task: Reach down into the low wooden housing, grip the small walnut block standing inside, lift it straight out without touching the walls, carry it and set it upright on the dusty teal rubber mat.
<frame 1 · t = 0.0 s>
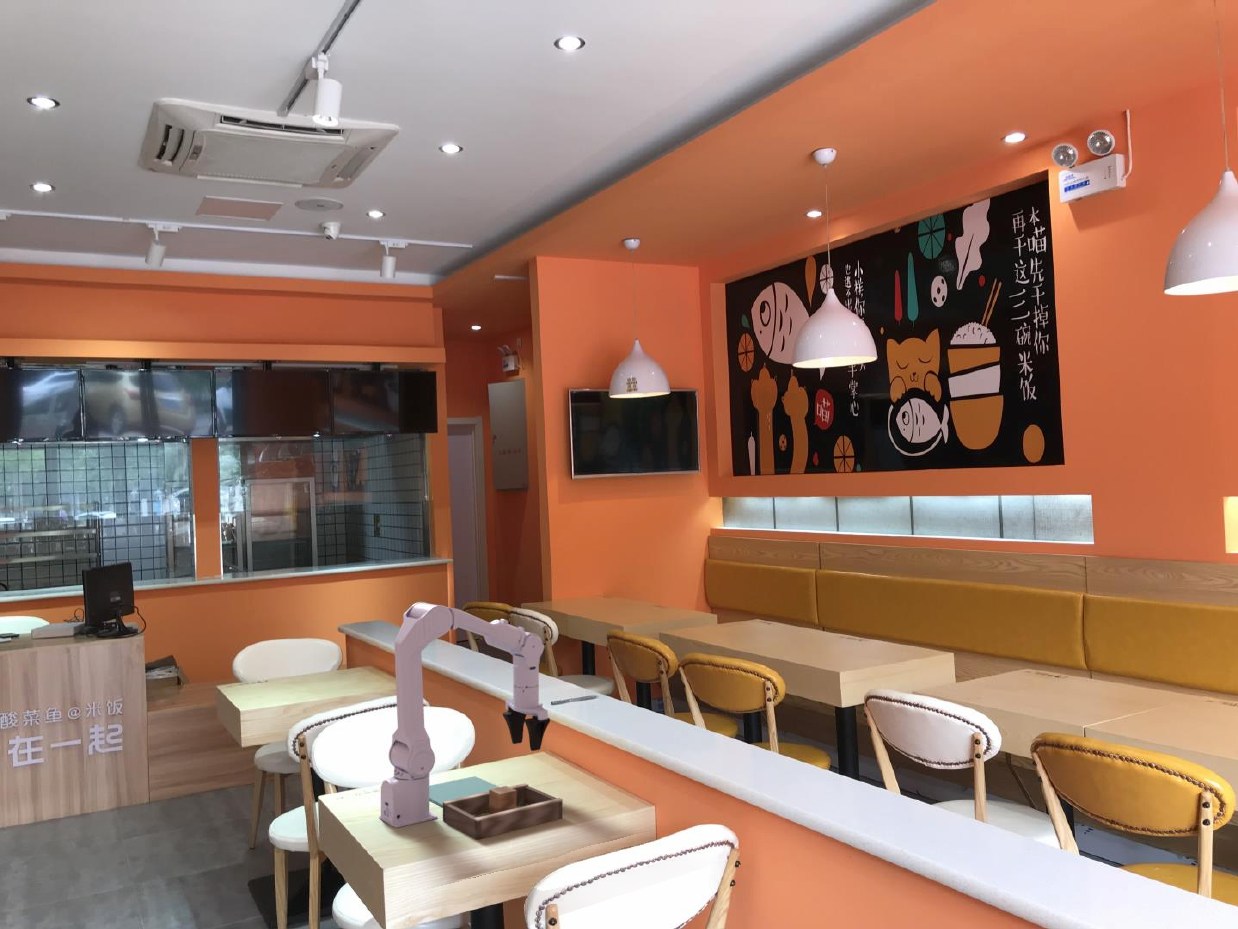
hand: (526, 746, 217), 10 cm above the table, tool pointing down, fingers open, 7 cm apart
mat: (461, 793, 216), on the table
housing: (502, 819, 198), on the table
walnut block: (502, 804, 198), in the housing
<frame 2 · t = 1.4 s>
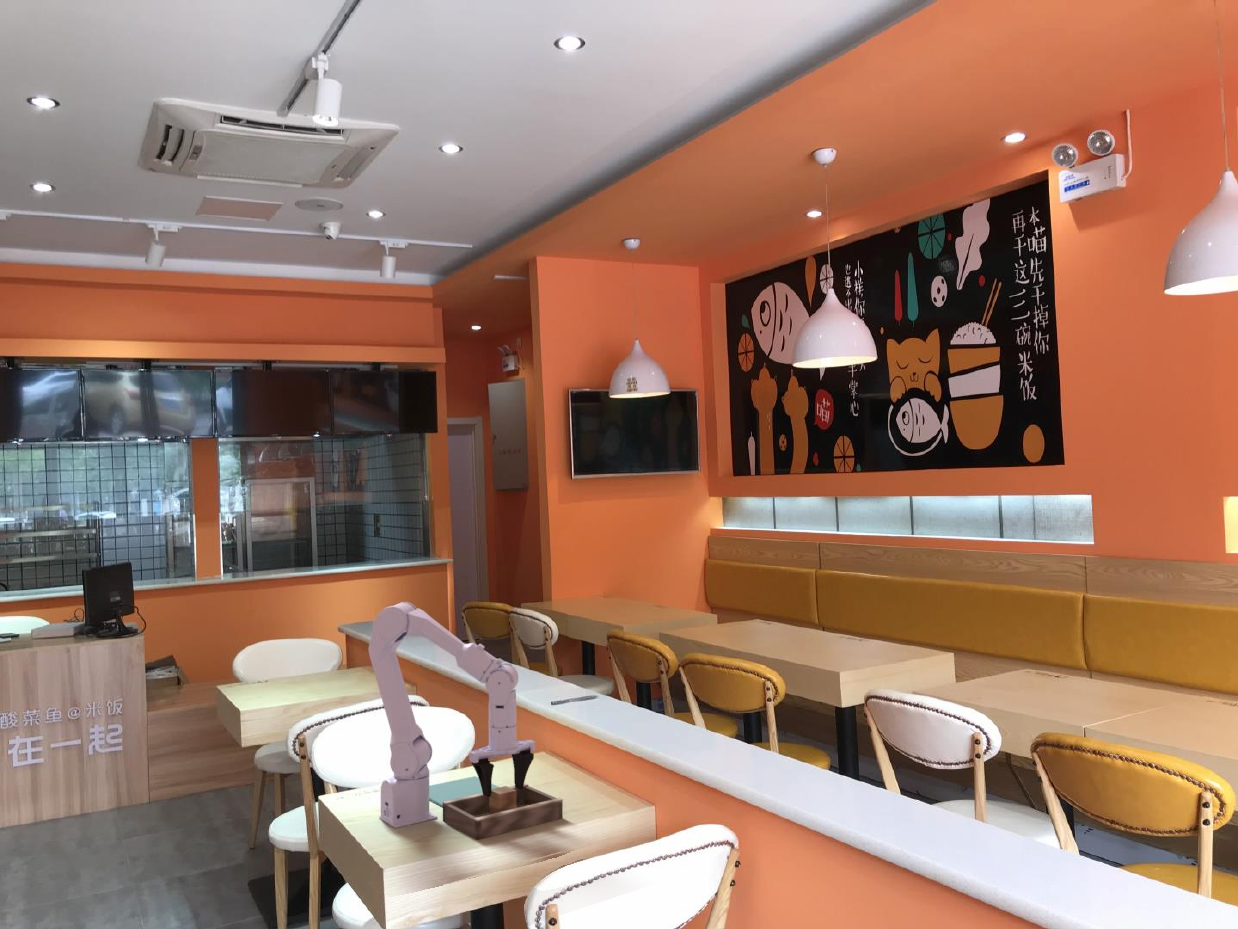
hand: (503, 791, 198), 6 cm above the table, tool pointing down, fingers open, 7 cm apart
nothing on the table moved.
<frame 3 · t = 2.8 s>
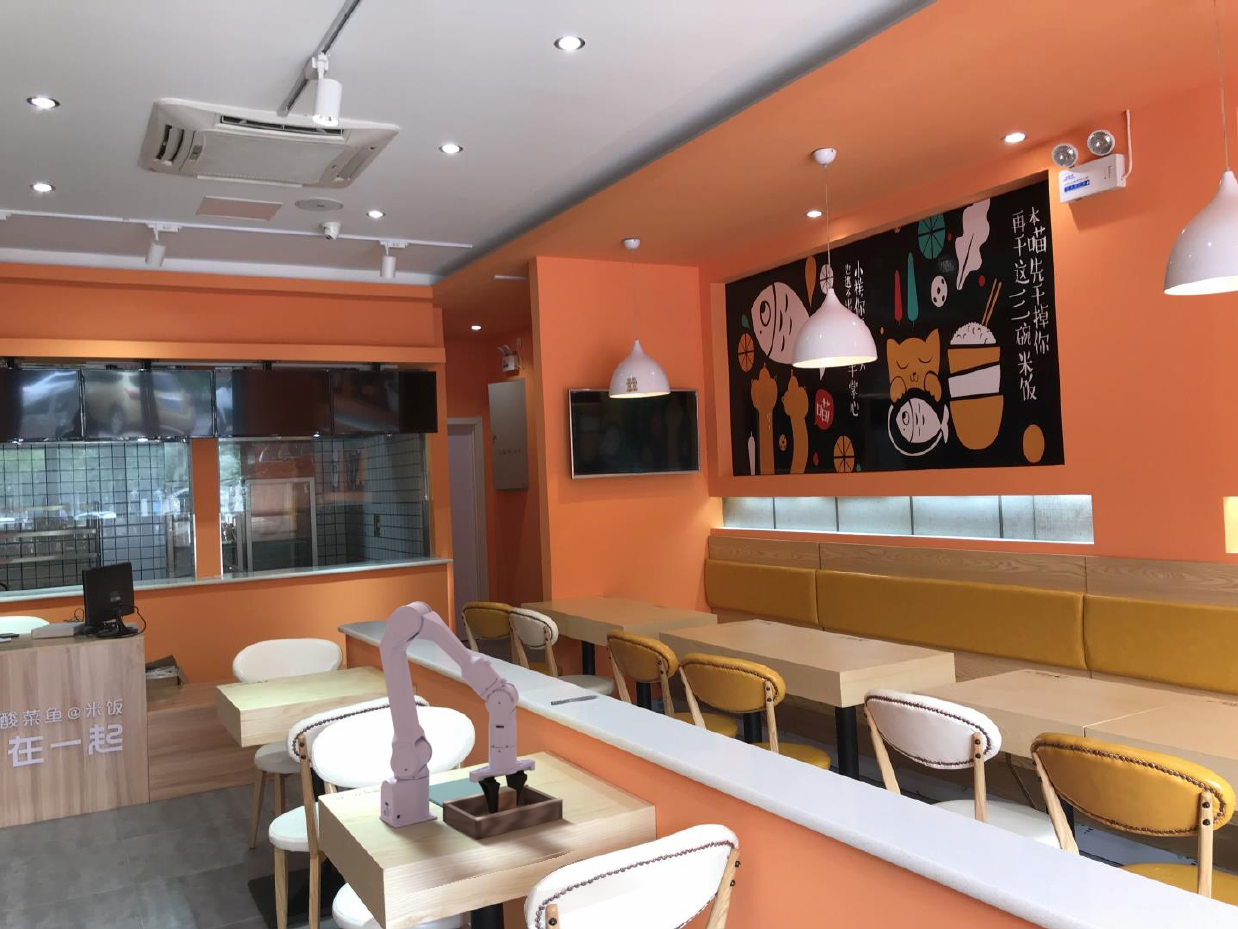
hand: (502, 811, 198), 2 cm above the table, tool pointing down, fingers closed on walnut block, 4 cm apart
walnut block: (502, 804, 198), in the housing, touching gripper
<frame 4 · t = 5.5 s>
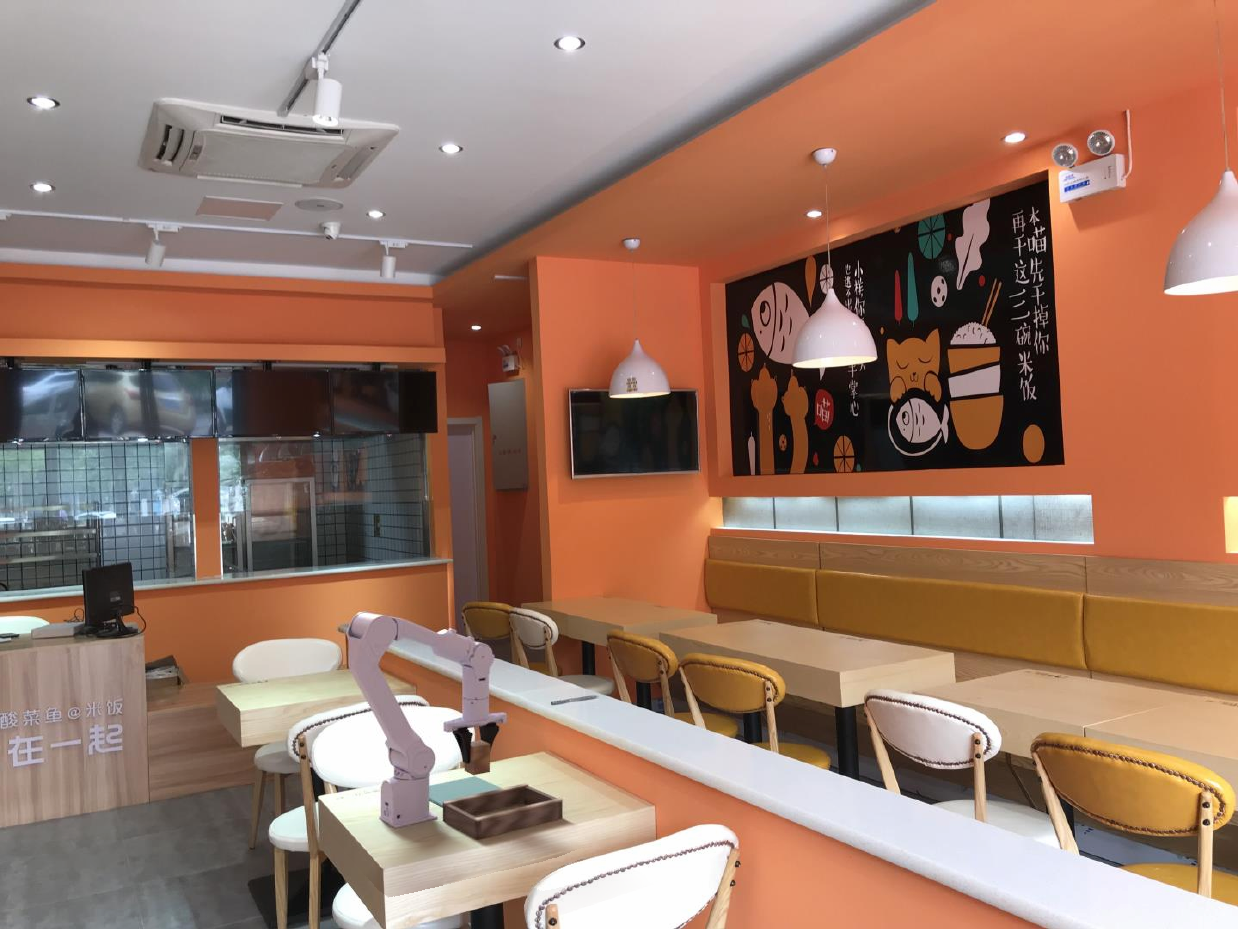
hand: (475, 760, 209), 9 cm above the table, tool pointing down, fingers closed on walnut block, 4 cm apart
walnut block: (477, 757, 209), point 10 cm above the table, touching gripper
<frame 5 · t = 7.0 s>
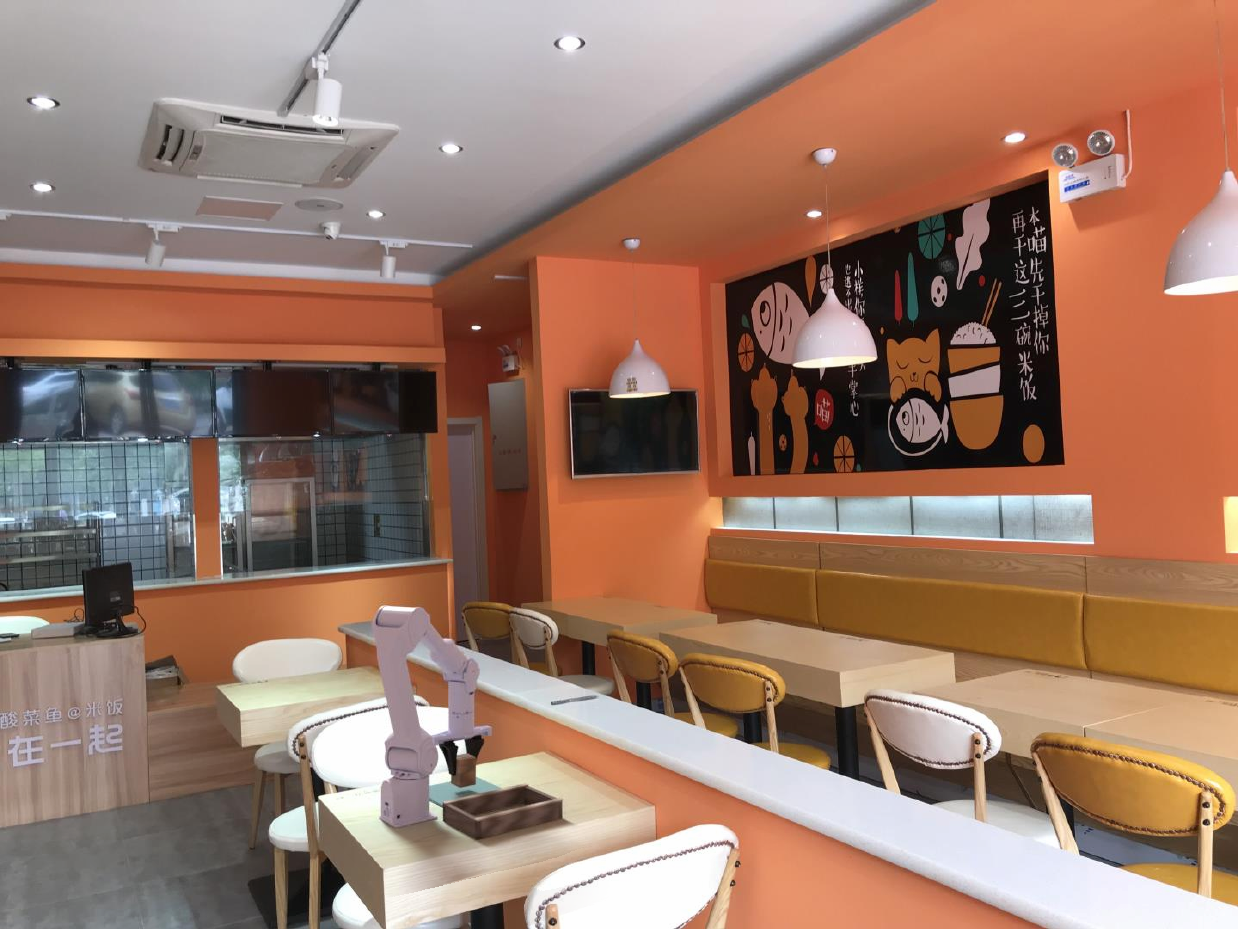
hand: (461, 772, 216), 4 cm above the table, tool pointing down, fingers closed on walnut block, 4 cm apart
walnut block: (463, 770, 215), point 5 cm above the table, touching gripper
when the fingers open (3 cm above the table, at t = 8.0 s): walnut block stays where it is, resting on mat.
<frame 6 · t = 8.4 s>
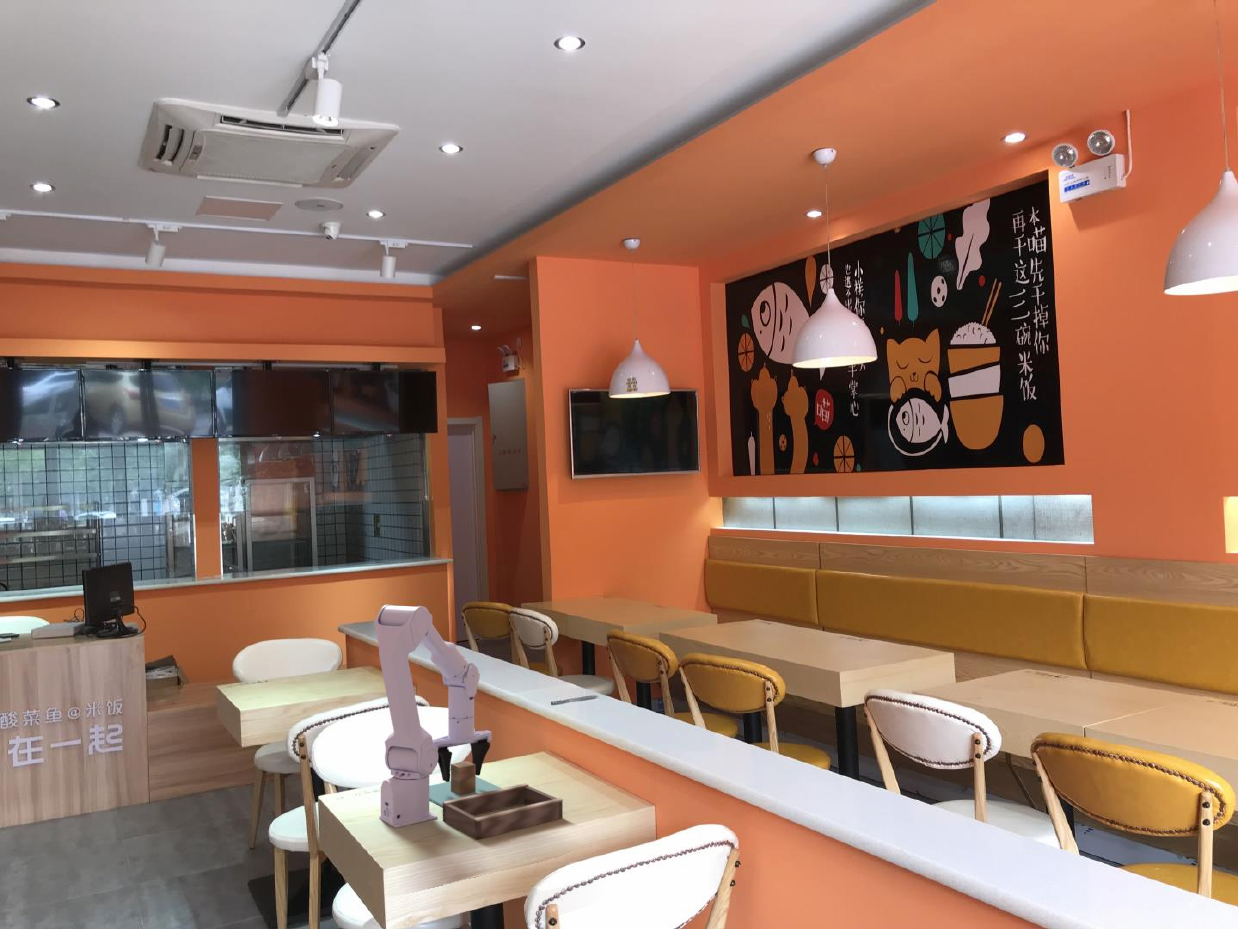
hand: (461, 777, 216), 3 cm above the table, tool pointing down, fingers open, 7 cm apart
walnut block: (463, 778, 215), on the mat
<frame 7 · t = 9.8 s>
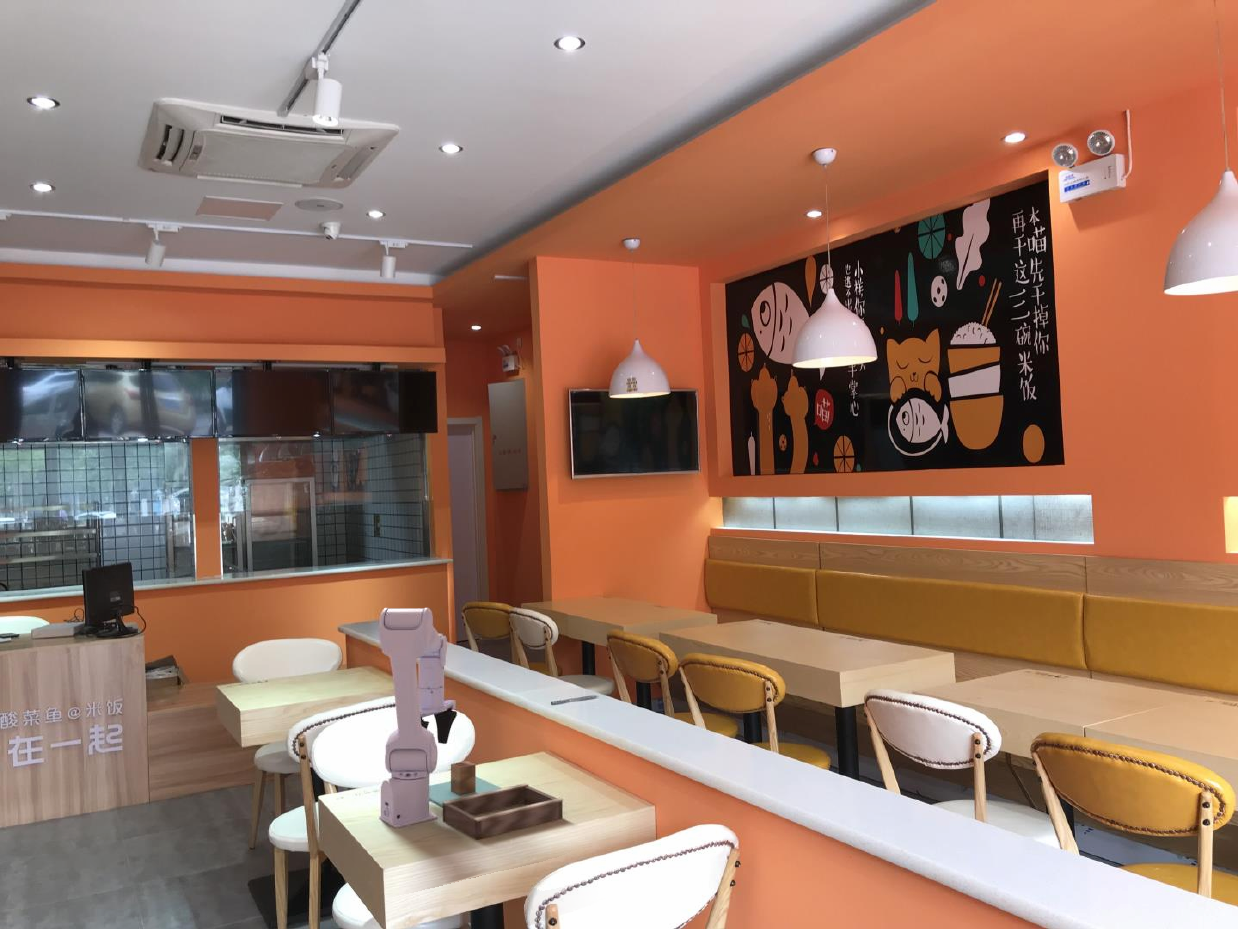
hand: (431, 747, 219), 9 cm above the table, tool pointing down, fingers open, 7 cm apart
nothing on the table moved.
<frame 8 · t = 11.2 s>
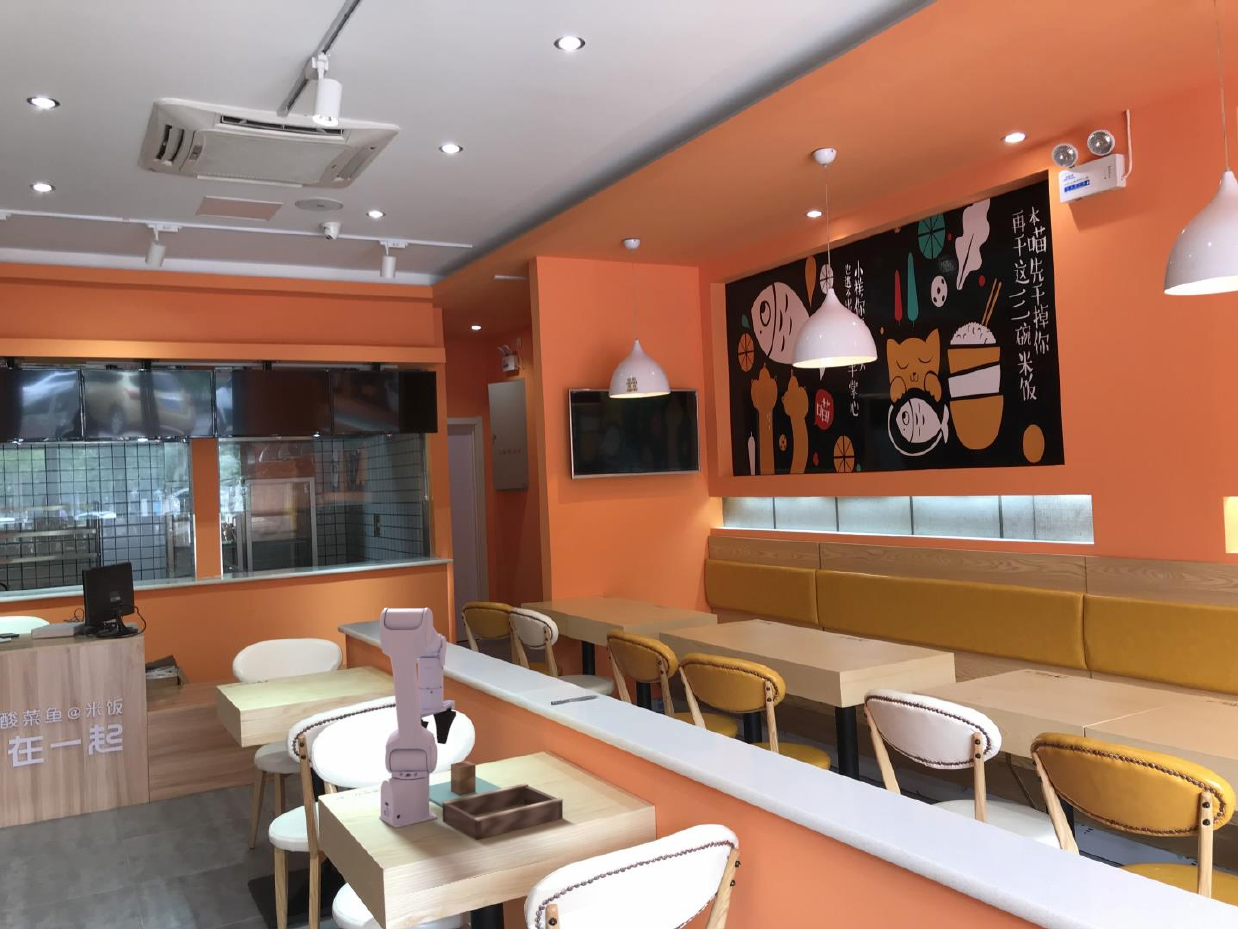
hand: (430, 747, 219), 9 cm above the table, tool pointing down, fingers open, 7 cm apart
nothing on the table moved.
at the end: walnut block inside the target area (0.8 cm from its centre), point 3.5 cm above the table; walnut block tilted 0°; walnut block touching mat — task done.
